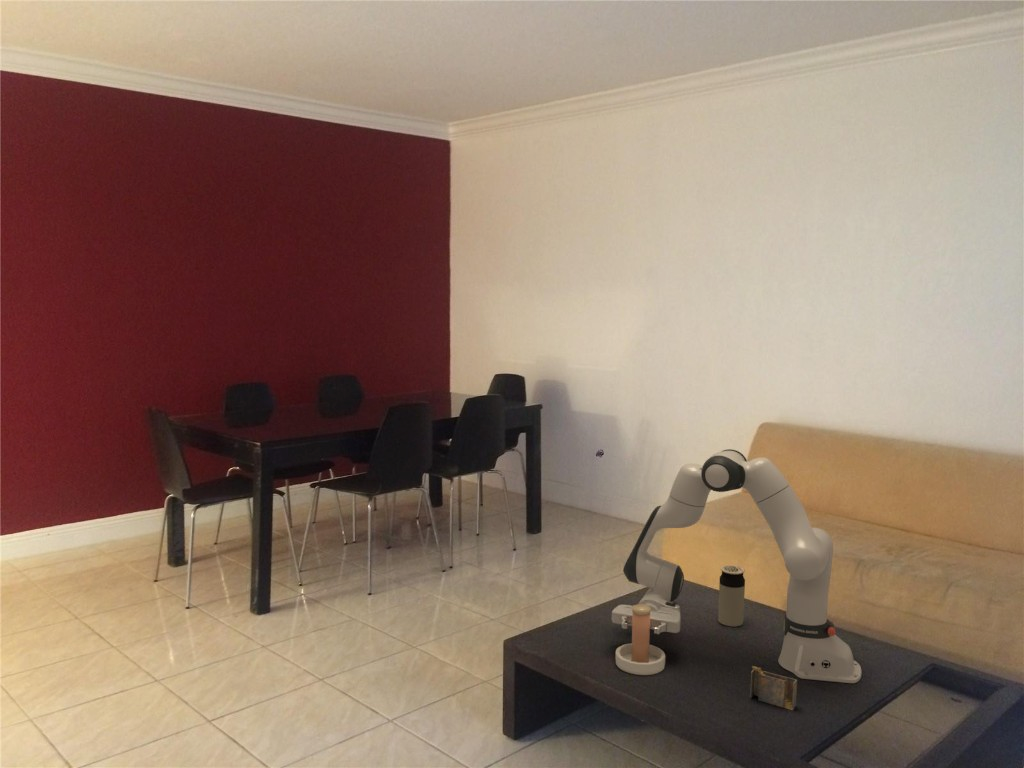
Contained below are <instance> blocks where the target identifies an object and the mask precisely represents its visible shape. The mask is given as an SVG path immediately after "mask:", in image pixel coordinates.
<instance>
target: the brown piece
mask: <svg viewBox="0 0 1024 768" xmlns="http://www.w3.org/2000/svg"><path fill="white" fill-rule="evenodd" d="M751 668H752V670H751V672H750V682H749V683H750V685H749V690H750V691H749V699H752V698H753V697H754V696H756V697H758V699H757V701H759V702H763V703H767V704H770V705H774V706H777V707H780V708H784V709H788V710H791V711H794V710H795V708H796V706H797V688H798V679H796V678H792V677H789V676H784V675H781V674H777V673H772V672H769V671H764V670H762V668H761V667H757V666H753V665H752V666H751Z"/></svg>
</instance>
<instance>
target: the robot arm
mask: <svg viewBox="0 0 1024 768" xmlns="http://www.w3.org/2000/svg"><path fill="white" fill-rule="evenodd" d="M742 488H743V489H744V490H746V491H747V493H748V494H749V495H750V497H751V498H752V500H753V502H754V503H755V504H756V506H757V508H758V509H759V512H760V513H761V514H762V516H763V517H764V519H765V521H766V523H767V524H768V526H769V528H770V530H771V532H772V534H773V537H774V539H775V542H776V544H777V547H778V549H779V551H780V554H781V555H782V557H783V561H784V565H785V569H786V570H787V572H788V573H789V580H788V584H787V589H786V591H787V593H786V595H787V596H786V611H785V612H786V613H785V615H784V618H783V635H784V636H783V643H782V647H781V651H780V654H779V657H778V659H777V660H778V661H777V662H778V664H779V665H780V666H781V667H782V668H783V669H785V670H787V671H788V672H791V673H792V674H794V675H795V676H796V677H797V678H799V679H802V680H803V679H804V680H814V681H823V682H825V681H826V682H835V683H836V682H837V683H846V684H856V683H858V682H859V681H860V680H861V678H862V668H861V665H860V664H859V663H858V662H857V661H856V660H854V655H853V652H852V650H851V647H850V646H849V644H848V643H846V642H844V641H843V639H841V638H840V637H839V636H838V635H836V628H835V624H834V621H833V620H831V621H830V620H829V619H828V608H829V607H828V606H829V605H828V604H829V603H828V600H829V590H830V582H831V576H832V566H833V557H834V544H833V540H832V537H831V535H829V533H828V532H827V531H826V530H824V529H822V528H819V527H812V525H811V523H810V520H809V518H808V515H807V512H806V509H805V507H804V505H803V504H802V502H801V500H800V499H799V497H798V495H797V494H796V492H795V491H794V489H793V487H792V485H790V483H789V481H788V480H787V478H786V477H785V476H784V474H783V473H782V472H781V470H780V469H779V468H778V467H777V466H776V465H775V464H774V463H773V461H771V460H770V459H769V458H767V457H756V458H753V459H751V460H747V458H746V456H745V455H744V454H743V453H741V452H740V451H739V450H736V449H730V448H729V449H724V450H721V451H719V452H716V453H714V454H713V455H711V456H710V457H709V458H707V459H706V460H705V461H704V463H703V465H700V464H697V463H687V464H684V465H683V466H682V467H680V469H679V471H678V472H677V474H676V476H675V479H674V481H673V483H672V486H671V489H670V492H669V496H668V497H667V500H666V501H665V502H664V503H663V504H662V505H657V506H656V507H655V508H654V509H653V511H652V512H651V513H650V515H649V517H648V519H647V521H646V522H645V524H644V526H643V528H642V531H641V533H640V534H639V536H638V539H637V540H636V543H635V544H634V546H633V549H632V550H631V551H630V553H629V554H628V555H627V557H626V559H625V560H624V563H623V569H622V571H623V574H624V576H625V578H626V579H627V580H628V581H629V582H630V583H634V584H637V585H641V586H644V587H646V588H649V589H648V590H647V591H646V592H645V593H644V595H643V597H642V598H641V599H640V601H639V602H638V604H644V605H648V606H650V608H651V612H650V630H653V634H656V635H660V633H664V632H666V633H673V634H677V633H680V630H681V607H680V605H678V604H675V603H674V602H675V601H676V600H677V599H678V597H679V596H680V593H681V592H682V589H683V585H684V580H685V575H684V572H683V569H682V567H681V566H680V565H679V564H676V563H674V562H671V561H669V560H666V559H662V558H660V557H657V556H655V555H651V554H650V553H649V552H648V548H650V545H651V543H652V541H653V539H654V537H655V535H656V534H657V532H658V531H660V530H664V529H683V528H684V529H685V528H688V527H691V526H693V525H695V524H697V523H698V522H699V521H700V520H701V517H702V516H703V513H704V511H705V507H706V504H707V501H708V498H709V495H710V492H711V491H713V492H717V493H724V492H730V491H735V490H740V489H742ZM632 607H633V605H630V604H619V605H617V606H616V607H614V609H613V610H612V611H611V622H612V623H613V624H616V625H621V628H622V629H623V630H624V629H626V630H627V629H629V626H631V627H632V617H633V612H632Z"/></svg>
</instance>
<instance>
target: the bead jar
mask: <svg viewBox="0 0 1024 768" xmlns="http://www.w3.org/2000/svg"><path fill="white" fill-rule="evenodd" d="M632 606H633V607H632V612H633V617H632V626H631V643H632V661H633V662H638V663H649V644H650V640H651V639H650V634H651V633H650V632H651V629H650V612H651V608H650V606H648V605H644V604H639V603H637V604H634V605H632Z"/></svg>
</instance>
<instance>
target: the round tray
mask: <svg viewBox="0 0 1024 768" xmlns="http://www.w3.org/2000/svg"><path fill="white" fill-rule="evenodd" d="M615 665H616V667H617V668H619V669H620V670H621V671H623V672H626V673H628V674H630V675H631V674H632V675H637V676H652V675H655V674H658V673H661V672H662V671H663V670H665V667H666V666H665V665H666V654H665V652H664V650H662V649H661V648H659V647H658V646H655V645H653V644H650V643H649V663H638V662H633V661H632V642H630V643H629V642H628V643H625V644H621V646H618V647H617V648H616V650H615Z"/></svg>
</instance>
